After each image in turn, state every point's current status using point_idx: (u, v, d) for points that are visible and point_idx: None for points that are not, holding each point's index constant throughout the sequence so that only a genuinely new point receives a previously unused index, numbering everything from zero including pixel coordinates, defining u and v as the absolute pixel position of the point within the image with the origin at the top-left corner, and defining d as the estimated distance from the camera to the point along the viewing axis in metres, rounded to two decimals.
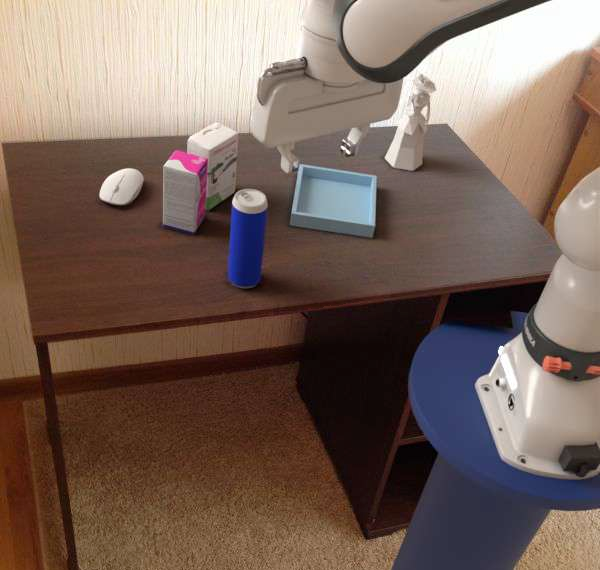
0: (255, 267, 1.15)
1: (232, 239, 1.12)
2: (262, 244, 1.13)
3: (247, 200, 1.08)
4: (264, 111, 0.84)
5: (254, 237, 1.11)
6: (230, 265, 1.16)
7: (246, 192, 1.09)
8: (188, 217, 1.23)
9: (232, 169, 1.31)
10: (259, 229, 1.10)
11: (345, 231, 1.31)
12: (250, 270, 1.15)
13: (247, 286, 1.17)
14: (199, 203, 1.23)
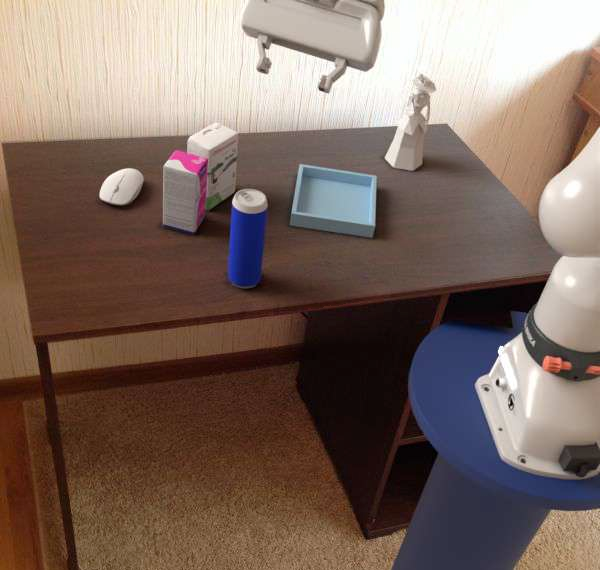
0: (255, 267, 1.15)
1: (231, 239, 1.12)
2: (262, 244, 1.13)
3: (247, 200, 1.08)
4: None
5: (254, 237, 1.11)
6: (230, 265, 1.16)
7: (246, 192, 1.09)
8: (188, 217, 1.23)
9: (232, 169, 1.31)
10: (259, 229, 1.10)
11: (345, 231, 1.31)
12: (250, 270, 1.15)
13: (247, 286, 1.17)
14: (199, 203, 1.23)
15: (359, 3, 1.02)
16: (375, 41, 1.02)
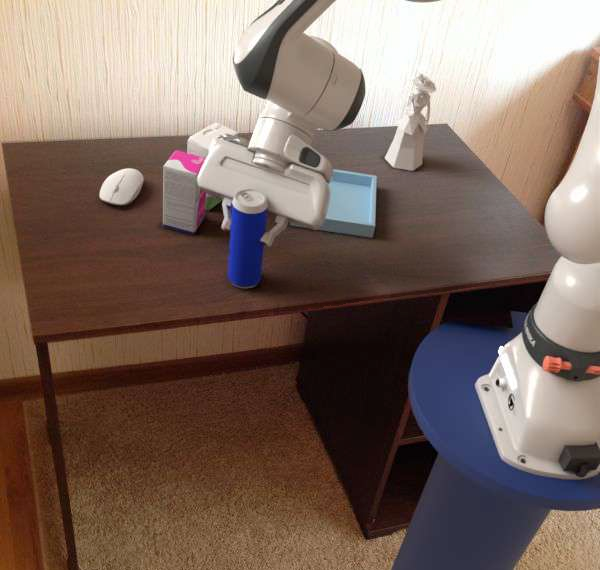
0: (256, 267, 1.15)
1: (232, 239, 1.12)
2: (262, 244, 1.13)
3: (247, 200, 1.08)
4: None
5: (254, 237, 1.11)
6: (230, 265, 1.16)
7: (246, 192, 1.09)
8: (188, 217, 1.23)
9: None
10: (259, 229, 1.10)
11: (345, 231, 1.31)
12: (250, 270, 1.15)
13: (247, 286, 1.17)
14: (199, 203, 1.23)
15: (307, 171, 1.08)
16: (322, 206, 1.09)
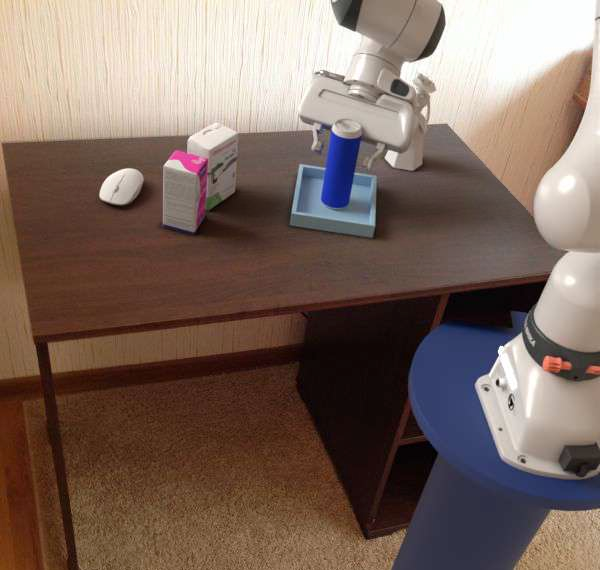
0: (347, 189, 1.32)
1: (328, 164, 1.29)
2: (354, 168, 1.30)
3: (345, 127, 1.25)
4: None
5: (349, 161, 1.28)
6: (325, 188, 1.33)
7: (343, 121, 1.26)
8: (188, 217, 1.23)
9: (232, 169, 1.31)
10: (354, 153, 1.27)
11: (345, 231, 1.31)
12: (342, 192, 1.32)
13: (338, 207, 1.34)
14: (199, 203, 1.23)
15: (397, 100, 1.25)
16: (410, 130, 1.25)
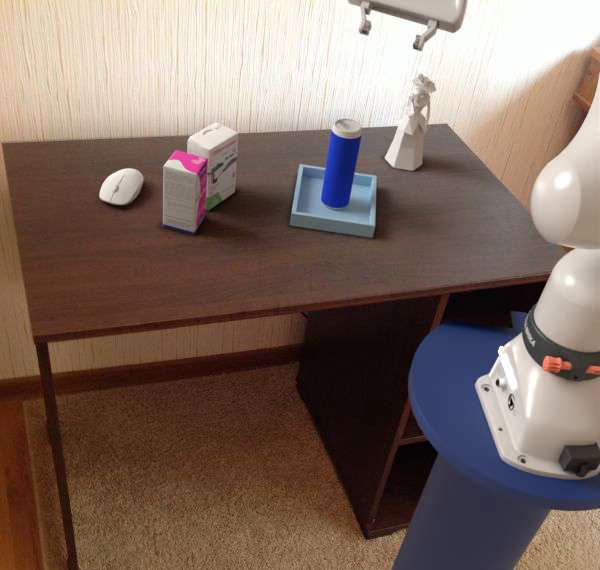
0: (347, 189, 1.32)
1: (328, 164, 1.29)
2: (354, 168, 1.30)
3: (345, 127, 1.25)
4: None
5: (349, 161, 1.28)
6: (325, 188, 1.33)
7: (343, 121, 1.26)
8: (188, 217, 1.23)
9: (232, 169, 1.31)
10: (354, 153, 1.27)
11: (345, 231, 1.31)
12: (342, 192, 1.32)
13: (338, 207, 1.34)
14: (199, 203, 1.23)
15: None
16: (464, 5, 1.20)
